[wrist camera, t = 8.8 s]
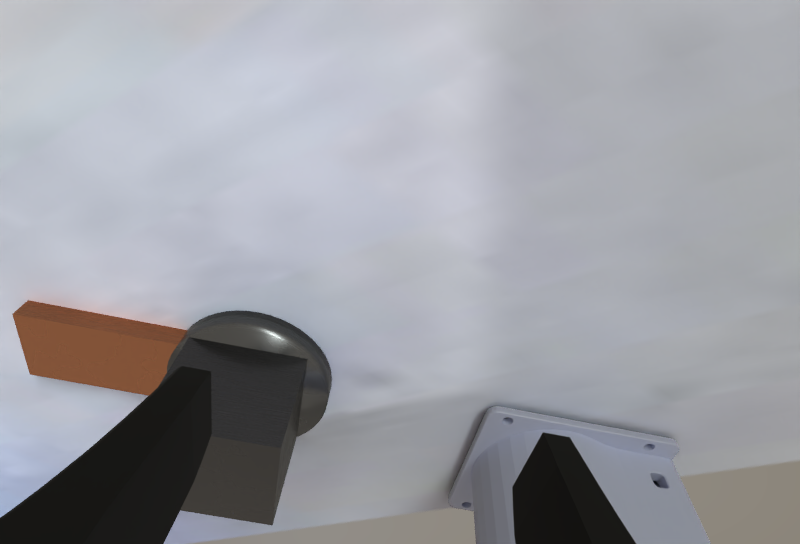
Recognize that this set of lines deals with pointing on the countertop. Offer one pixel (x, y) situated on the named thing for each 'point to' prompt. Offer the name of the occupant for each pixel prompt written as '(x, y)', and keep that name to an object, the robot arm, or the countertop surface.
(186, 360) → the dark grey cube
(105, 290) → the countertop surface
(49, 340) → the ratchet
